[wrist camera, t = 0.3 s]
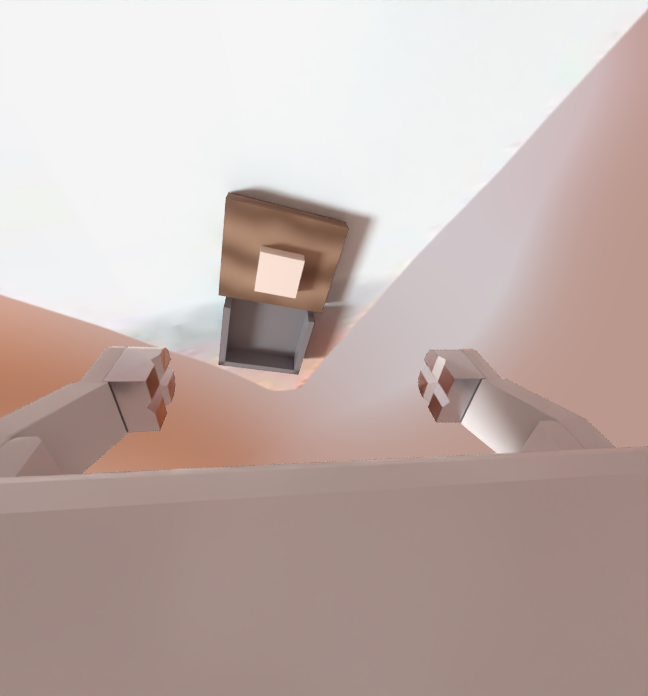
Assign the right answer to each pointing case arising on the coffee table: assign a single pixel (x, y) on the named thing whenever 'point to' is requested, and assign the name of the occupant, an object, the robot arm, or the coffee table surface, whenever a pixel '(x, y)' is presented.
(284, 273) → the tile
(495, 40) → the coffee table surface
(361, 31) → the coffee table surface
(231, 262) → the board
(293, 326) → the box
